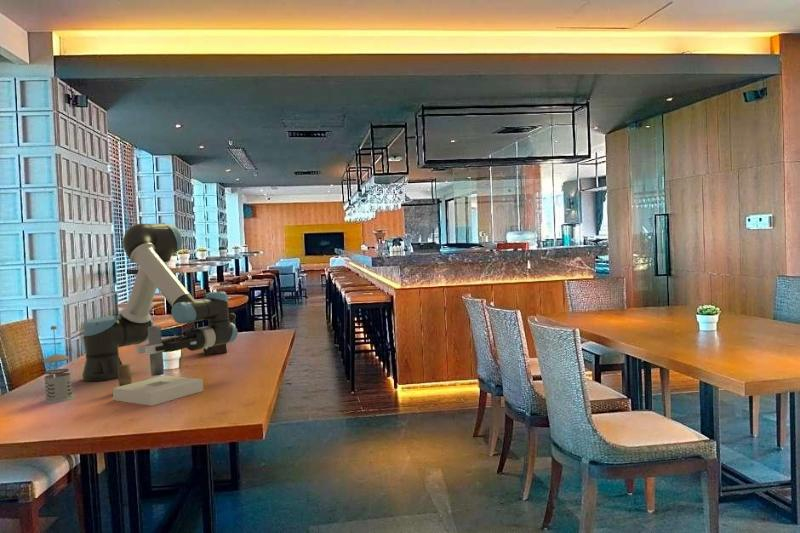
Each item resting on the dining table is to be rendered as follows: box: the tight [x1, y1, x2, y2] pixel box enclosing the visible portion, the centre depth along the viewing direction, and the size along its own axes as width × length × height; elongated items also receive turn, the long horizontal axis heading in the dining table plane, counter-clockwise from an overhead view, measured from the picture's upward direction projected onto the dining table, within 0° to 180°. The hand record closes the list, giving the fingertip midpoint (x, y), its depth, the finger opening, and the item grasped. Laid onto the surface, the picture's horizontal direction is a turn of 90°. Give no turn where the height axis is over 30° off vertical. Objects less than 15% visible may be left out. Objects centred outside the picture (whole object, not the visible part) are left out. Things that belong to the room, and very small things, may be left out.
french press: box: [42, 325, 76, 404], centre depth 217 cm, size 10×12×25 cm
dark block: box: [202, 312, 237, 356], centre depth 296 cm, size 16×11×18 cm
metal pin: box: [148, 325, 165, 377], centre depth 213 cm, size 4×4×16 cm
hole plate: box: [112, 374, 204, 407], centre depth 214 cm, size 20×20×4 cm
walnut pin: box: [118, 363, 133, 387], centre depth 223 cm, size 4×4×9 cm
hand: (141, 350), depth 208 cm, fingers closed on metal pin, 4 cm apart
